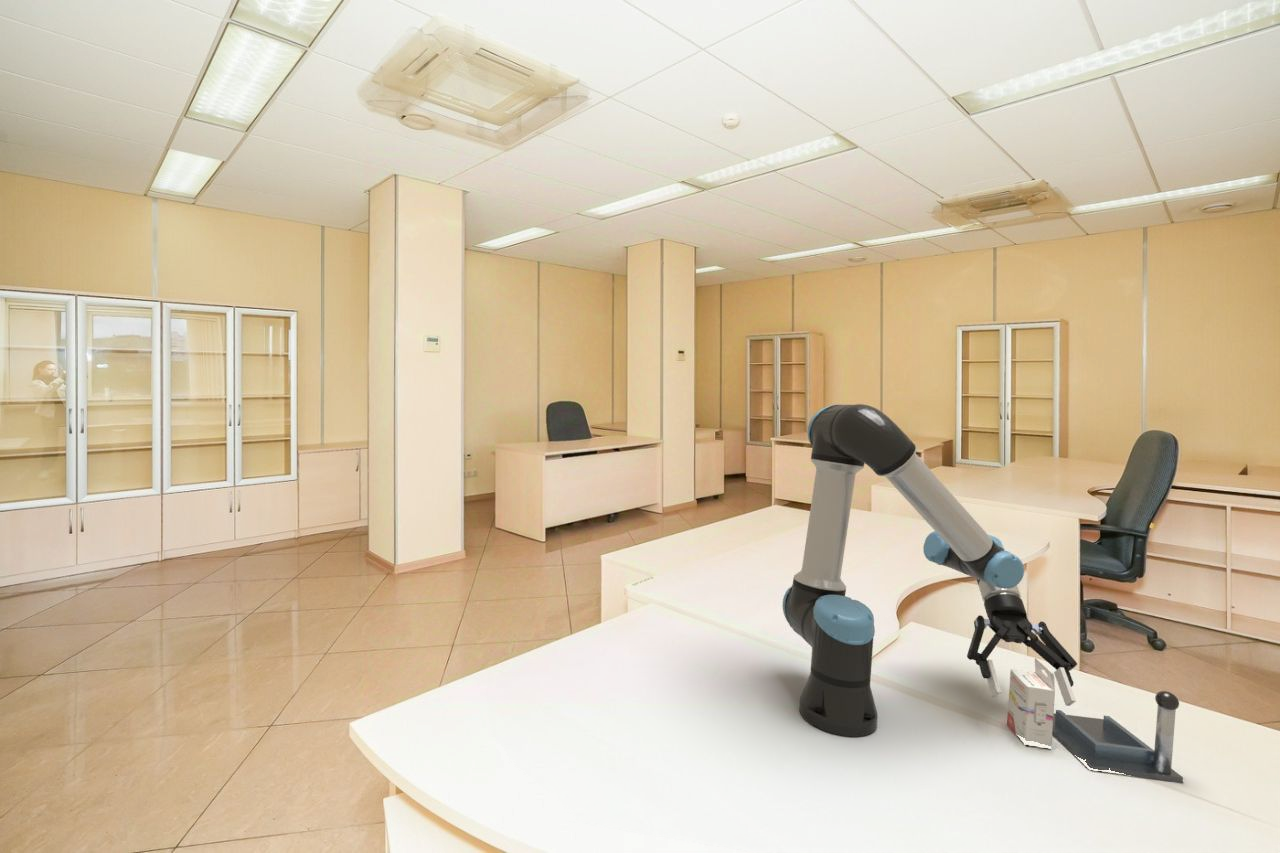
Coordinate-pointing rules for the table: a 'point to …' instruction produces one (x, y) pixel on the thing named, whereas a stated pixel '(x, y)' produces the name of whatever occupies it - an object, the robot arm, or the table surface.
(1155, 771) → the keeper bracket
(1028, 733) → the ink cartridge box
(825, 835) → the table surface
